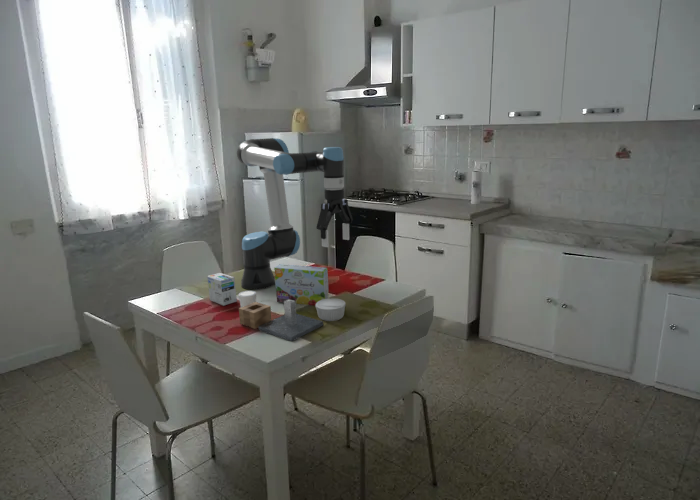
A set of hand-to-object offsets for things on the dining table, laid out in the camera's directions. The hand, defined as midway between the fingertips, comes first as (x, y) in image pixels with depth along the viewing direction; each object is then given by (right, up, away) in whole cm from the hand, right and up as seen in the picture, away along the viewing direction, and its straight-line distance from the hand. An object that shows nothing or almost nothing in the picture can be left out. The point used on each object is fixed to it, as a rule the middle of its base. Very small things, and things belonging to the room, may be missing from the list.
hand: (335, 243), depth 186 cm
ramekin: (-2, -28, -8) cm, 29 cm away
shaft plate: (-15, -30, -17) cm, 38 cm away
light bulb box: (-47, -24, +11) cm, 54 cm away
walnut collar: (-29, -29, -12) cm, 43 cm away
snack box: (-14, -24, +7) cm, 29 cm away
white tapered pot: (-34, -26, 0) cm, 43 cm away
